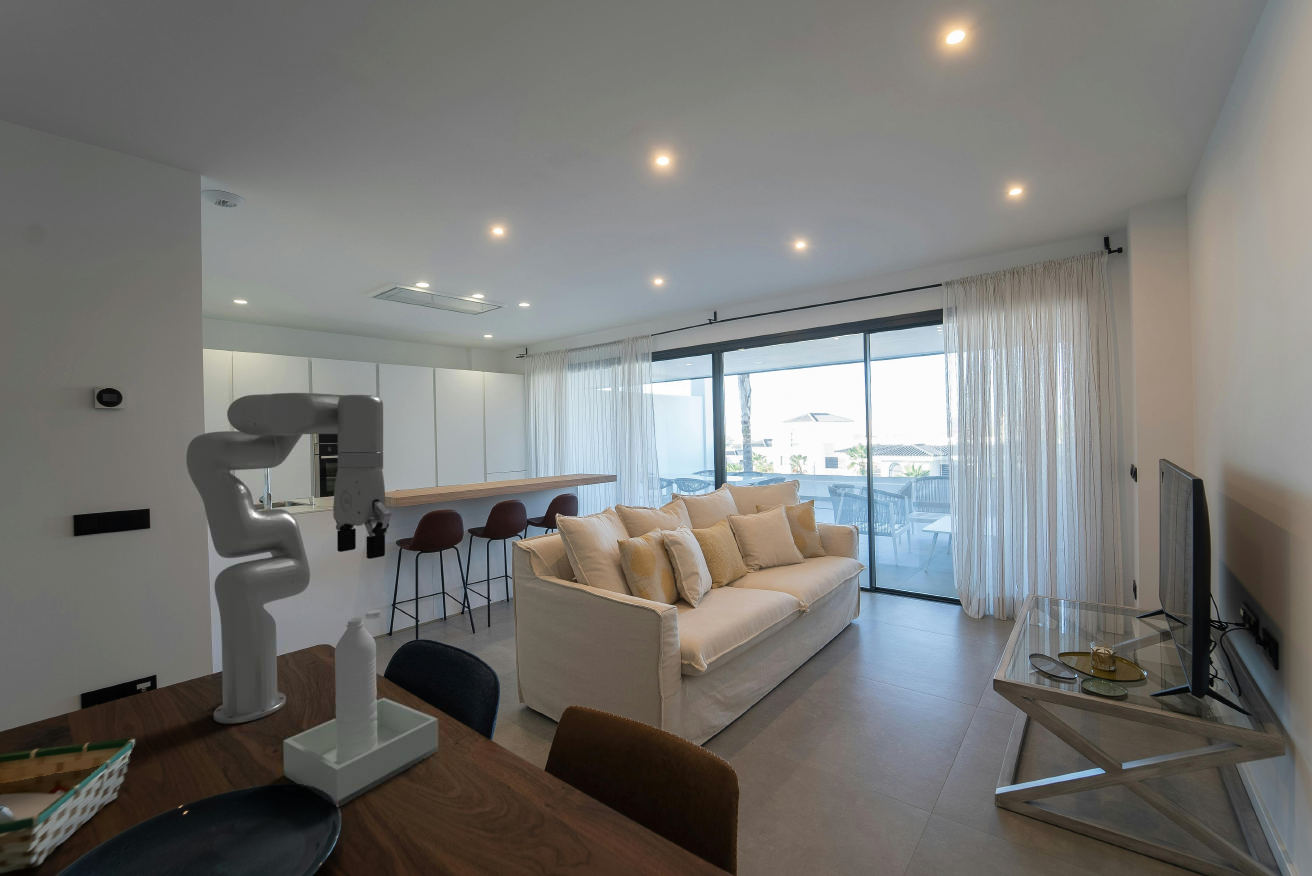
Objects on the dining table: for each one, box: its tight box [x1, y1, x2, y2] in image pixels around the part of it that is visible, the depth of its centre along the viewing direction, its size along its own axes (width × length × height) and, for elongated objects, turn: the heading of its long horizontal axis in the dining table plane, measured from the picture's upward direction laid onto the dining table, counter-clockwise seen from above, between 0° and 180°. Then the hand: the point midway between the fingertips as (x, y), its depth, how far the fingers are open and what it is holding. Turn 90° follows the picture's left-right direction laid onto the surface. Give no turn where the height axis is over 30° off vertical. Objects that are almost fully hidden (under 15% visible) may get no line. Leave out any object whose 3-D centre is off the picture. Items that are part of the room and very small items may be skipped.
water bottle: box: [334, 609, 382, 765], centre depth 102 cm, size 9×6×25 cm
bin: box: [282, 697, 439, 807], centre depth 102 cm, size 17×19×6 cm
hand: (360, 553), depth 107 cm, fingers open, 9 cm apart
